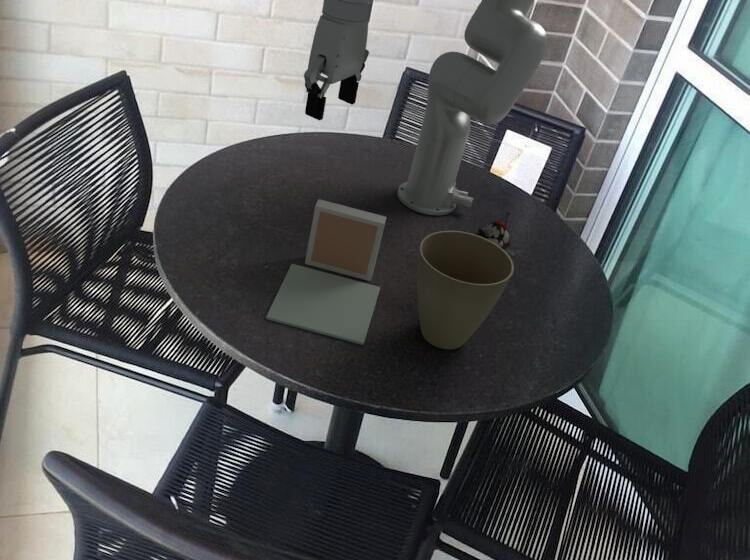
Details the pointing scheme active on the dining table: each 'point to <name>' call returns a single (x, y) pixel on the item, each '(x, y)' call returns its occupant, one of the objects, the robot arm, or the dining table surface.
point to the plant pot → (458, 285)
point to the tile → (344, 239)
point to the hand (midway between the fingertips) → (330, 109)
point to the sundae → (496, 233)
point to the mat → (325, 304)
